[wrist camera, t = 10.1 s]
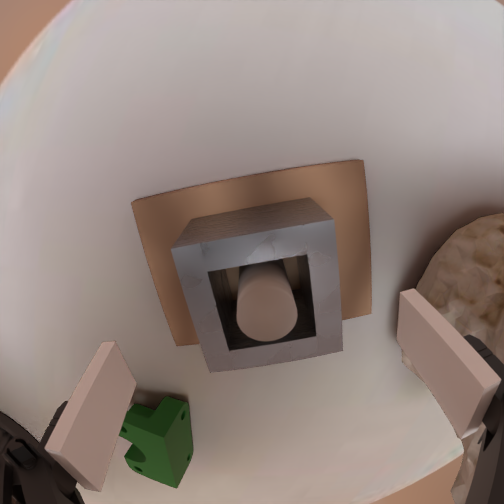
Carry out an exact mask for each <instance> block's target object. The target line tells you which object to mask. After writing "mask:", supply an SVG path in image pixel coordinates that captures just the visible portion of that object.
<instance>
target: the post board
mask: <svg viewBox="0 0 504 504" xmlns="http://www.w3.org/2000/svg"><path fill="white" fill-rule="evenodd" d="M308 197H310V198H312V199H313V200H314V201H315V202H316V203H317V204H318V205H319V206H320V207H321V208H322V209H323V210H325V211H326V212H327V213H328V214H329V215H330V216H331V217H332V218H333V219H334V223H335V233H336V243H337V254H338V266H339V280H340V295H341V314H342V320H345V319H350V318H355V317H359V316H363V315H368V314H371V306H372V285H371V247H370V228H369V213H368V201H367V189H366V179H365V170H364V162H363V160H359V159H358V160H349V161H341V162H333V163H325V164H318V165H311V166H304V167H297V168H291V169H284V170H278V171H272V172H266V173H260V174H254V175H249V176H243V177H238V178H233V179H227V180H222V181H217V182H212V183H207V184H203V185H198V186H193V187H188V188H184V189H179V190H175V191H170V192H166V193H162V194H158V195H153V196H149V197H145V198H141V199H137V200H135V201H133V202H131V205H132V209H133V212H134V216H135V220H136V224H137V227H138V231H139V235H140V238H141V242H142V245H143V248H144V252H145V255H146V258H147V262H148V265H149V268H150V271H151V275H152V278H153V281H154V284H155V287H156V290H157V293H158V296H159V299H160V302H161V305H162V308H163V311H164V313H165V316H166V319H167V322H168V325H169V327H170V330H171V333H172V335H173V338H174V341H175V343H176V346H184V345H193V344H200V342H199V339H198V336H197V333H196V330H195V327H194V324H193V321H192V318H191V315H190V312H189V309H188V306H187V302H186V299H185V296H184V293H183V289H182V286H181V283H180V280H179V276H178V273H177V269H176V266H175V262H174V259H173V255H172V252H171V248H172V246H173V245H174V243H175V242H176V240H177V239H178V237H179V236H180V235H181V233H182V232H183V230H184V229H185V227H186V226H187V224H188V223H189V222H190V220H191V219H193V218H198V217H203V216H208V215H213V214H218V213H224V212H229V211H234V210H239V209H245V208H250V207H256V206H261V205H267V204H273V203H278V202H284V201H290V200H296V199H302V198H308ZM226 273H227V277H228V282H229V286H230V290H231V294H232V298H233V300H237V299H238V300H237V323H238V325H239V327H240V329H241V330H242V332H243V333H244V334H246V335H247V336H248V337H250V338H252V339H255V340H258V341H273V340H277V339H280V338H282V337H284V336H285V335H287V334H288V333H289V332H290V331H291V330H292V329H293V327H294V326H295V324H296V321H297V316H298V314H297V308H296V304H295V301H294V297H293V294H292V290H295V289H301V288H300V280H299V273H298V265H297V258H296V256H294V257H288V258H283V259H277V260H271V261H266V262H260V263H255V264H249V265H243V266H237V267H232V268H226Z"/></svg>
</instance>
